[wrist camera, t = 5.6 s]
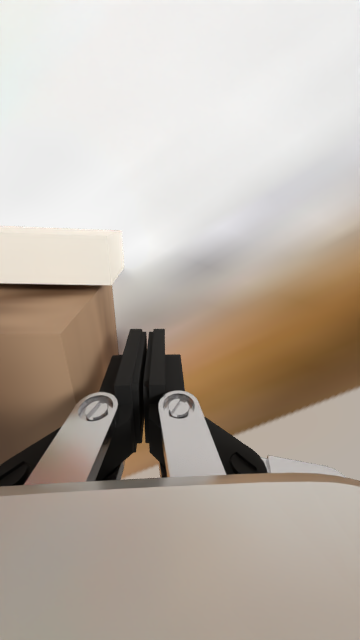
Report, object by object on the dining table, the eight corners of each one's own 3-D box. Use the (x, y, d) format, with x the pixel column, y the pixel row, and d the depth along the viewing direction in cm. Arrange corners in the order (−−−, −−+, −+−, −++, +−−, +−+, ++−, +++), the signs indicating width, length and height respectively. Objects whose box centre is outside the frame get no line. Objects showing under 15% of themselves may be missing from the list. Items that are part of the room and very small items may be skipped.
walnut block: (110, 275, 13) (60, 333, 6) (119, 360, 15) (88, 461, 9) (-18, 272, 12) (-210, 333, 6) (13, 361, 15) (-98, 469, 9)
